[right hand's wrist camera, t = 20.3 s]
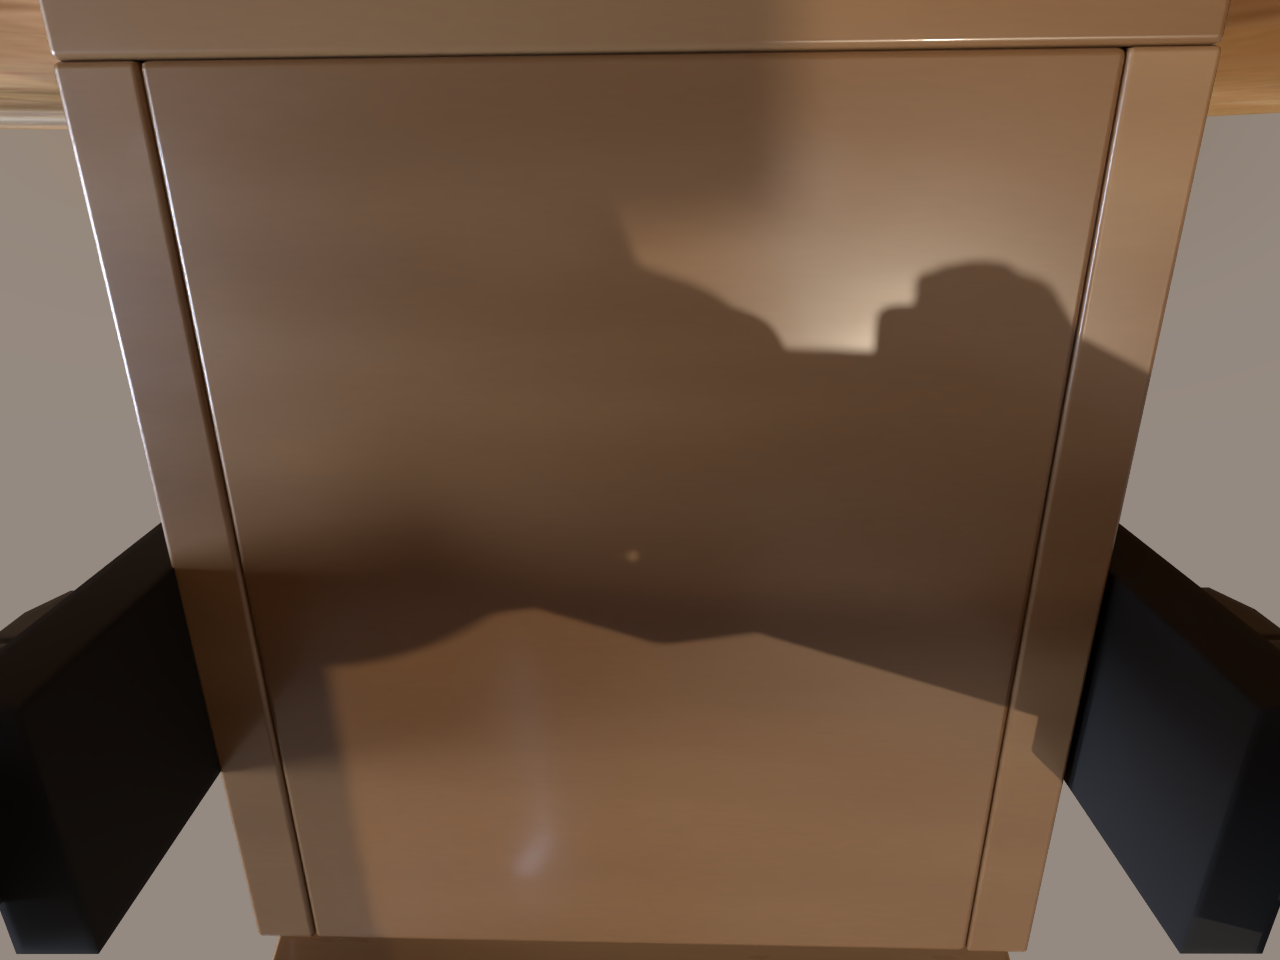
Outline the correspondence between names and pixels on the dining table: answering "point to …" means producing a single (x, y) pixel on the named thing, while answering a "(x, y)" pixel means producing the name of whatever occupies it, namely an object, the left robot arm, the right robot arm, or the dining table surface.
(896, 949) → the lid
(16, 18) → the dining table surface
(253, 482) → the chest
